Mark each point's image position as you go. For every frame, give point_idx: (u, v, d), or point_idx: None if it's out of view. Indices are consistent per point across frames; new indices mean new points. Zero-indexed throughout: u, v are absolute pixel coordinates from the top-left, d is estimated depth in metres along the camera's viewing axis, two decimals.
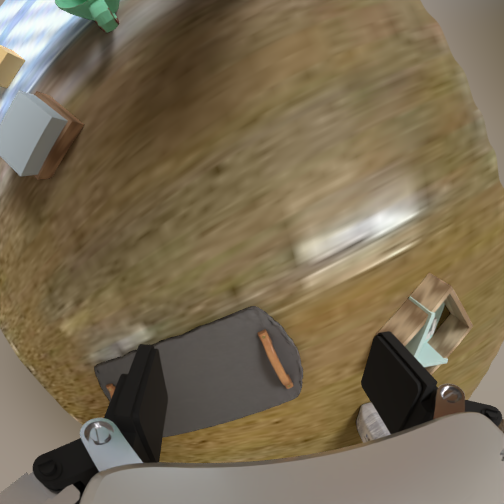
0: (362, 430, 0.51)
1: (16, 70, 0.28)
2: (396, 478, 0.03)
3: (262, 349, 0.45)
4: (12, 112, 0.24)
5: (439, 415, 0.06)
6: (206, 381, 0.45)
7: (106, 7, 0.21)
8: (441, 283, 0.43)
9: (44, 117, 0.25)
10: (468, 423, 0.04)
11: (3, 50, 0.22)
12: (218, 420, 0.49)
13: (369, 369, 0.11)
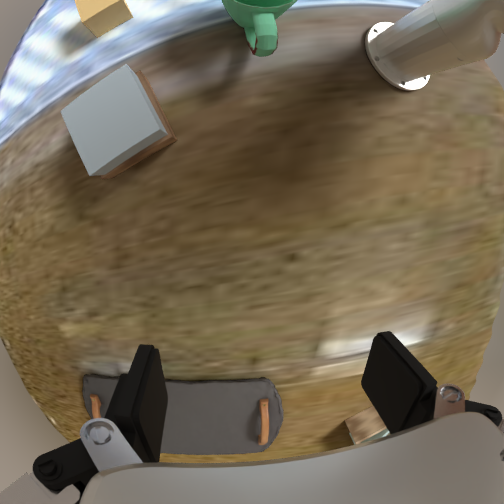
0: None
1: (118, 23, 0.27)
2: (396, 478, 0.03)
3: (256, 411, 0.45)
4: (106, 87, 0.23)
5: (439, 415, 0.06)
6: (193, 421, 0.44)
7: (276, 31, 0.23)
8: None
9: (148, 122, 0.25)
10: (468, 424, 0.04)
11: None
12: (184, 451, 0.47)
13: (369, 369, 0.11)
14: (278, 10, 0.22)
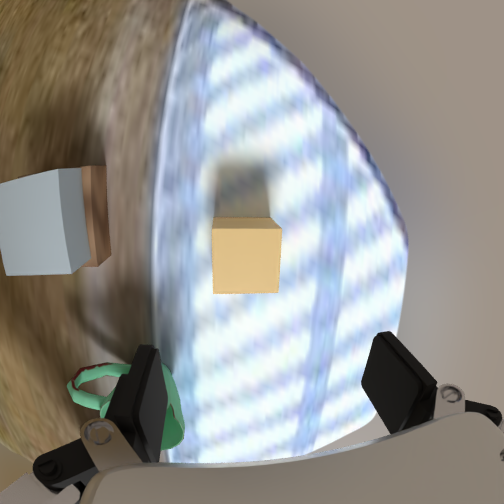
0: None
1: None
2: (396, 478, 0.03)
3: None
4: (53, 241, 0.20)
5: (439, 415, 0.06)
6: None
7: (78, 403, 0.24)
8: None
9: (12, 268, 0.20)
10: (468, 423, 0.04)
11: (233, 291, 0.26)
12: None
13: (369, 369, 0.11)
14: (103, 416, 0.25)
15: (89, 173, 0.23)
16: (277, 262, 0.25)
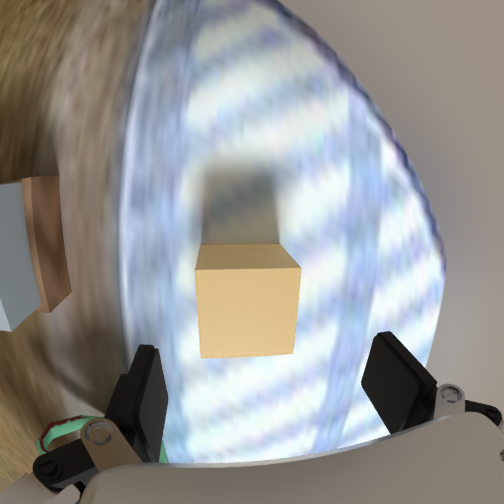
0: None
1: None
2: (396, 478, 0.03)
3: None
4: None
5: (439, 415, 0.06)
6: None
7: None
8: None
9: None
10: (468, 424, 0.04)
11: (230, 355, 0.17)
12: None
13: (369, 369, 0.11)
14: None
15: (30, 188, 0.15)
16: (293, 315, 0.17)
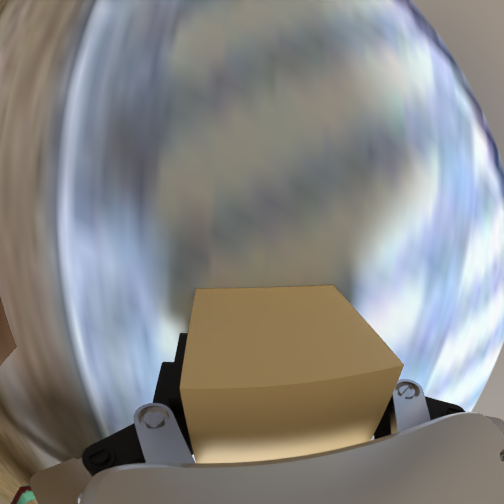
0: None
1: None
2: (396, 478, 0.03)
3: None
4: None
5: (401, 414, 0.07)
6: None
7: None
8: None
9: None
10: (468, 423, 0.04)
11: None
12: None
13: None
14: None
15: None
16: (369, 432, 0.07)
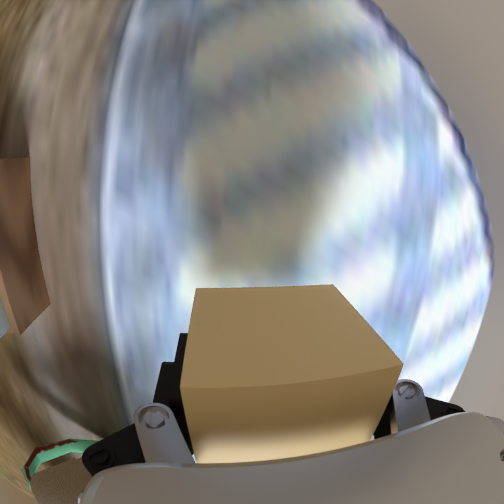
0: None
1: None
2: (396, 478, 0.03)
3: None
4: None
5: (401, 414, 0.07)
6: None
7: None
8: None
9: None
10: (468, 423, 0.04)
11: None
12: None
13: None
14: None
15: None
16: (369, 432, 0.08)
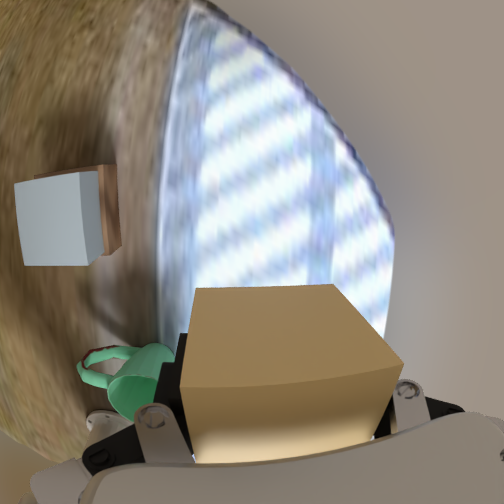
0: None
1: None
2: (396, 478, 0.03)
3: None
4: (72, 236, 0.23)
5: (401, 414, 0.07)
6: None
7: None
8: None
9: (30, 259, 0.23)
10: (468, 424, 0.04)
11: None
12: None
13: None
14: (110, 394, 0.29)
15: (102, 171, 0.26)
16: (369, 432, 0.07)
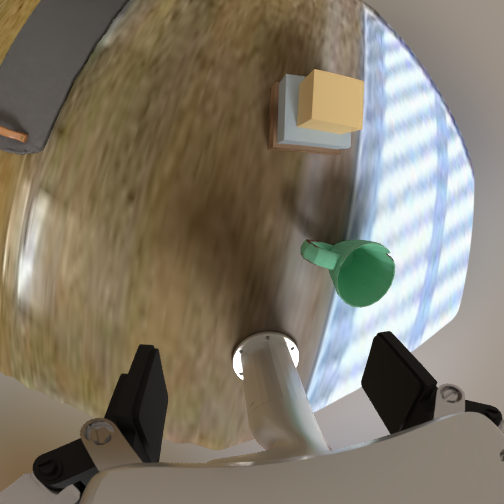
0: None
1: (299, 108, 0.31)
2: (396, 478, 0.03)
3: (18, 126, 0.32)
4: None
5: (439, 415, 0.06)
6: (38, 64, 0.29)
7: (317, 264, 0.37)
8: None
9: (294, 135, 0.33)
10: (467, 424, 0.04)
11: (328, 120, 0.27)
12: (15, 42, 0.26)
13: (369, 368, 0.11)
14: (334, 275, 0.38)
15: None
16: (361, 104, 0.27)
